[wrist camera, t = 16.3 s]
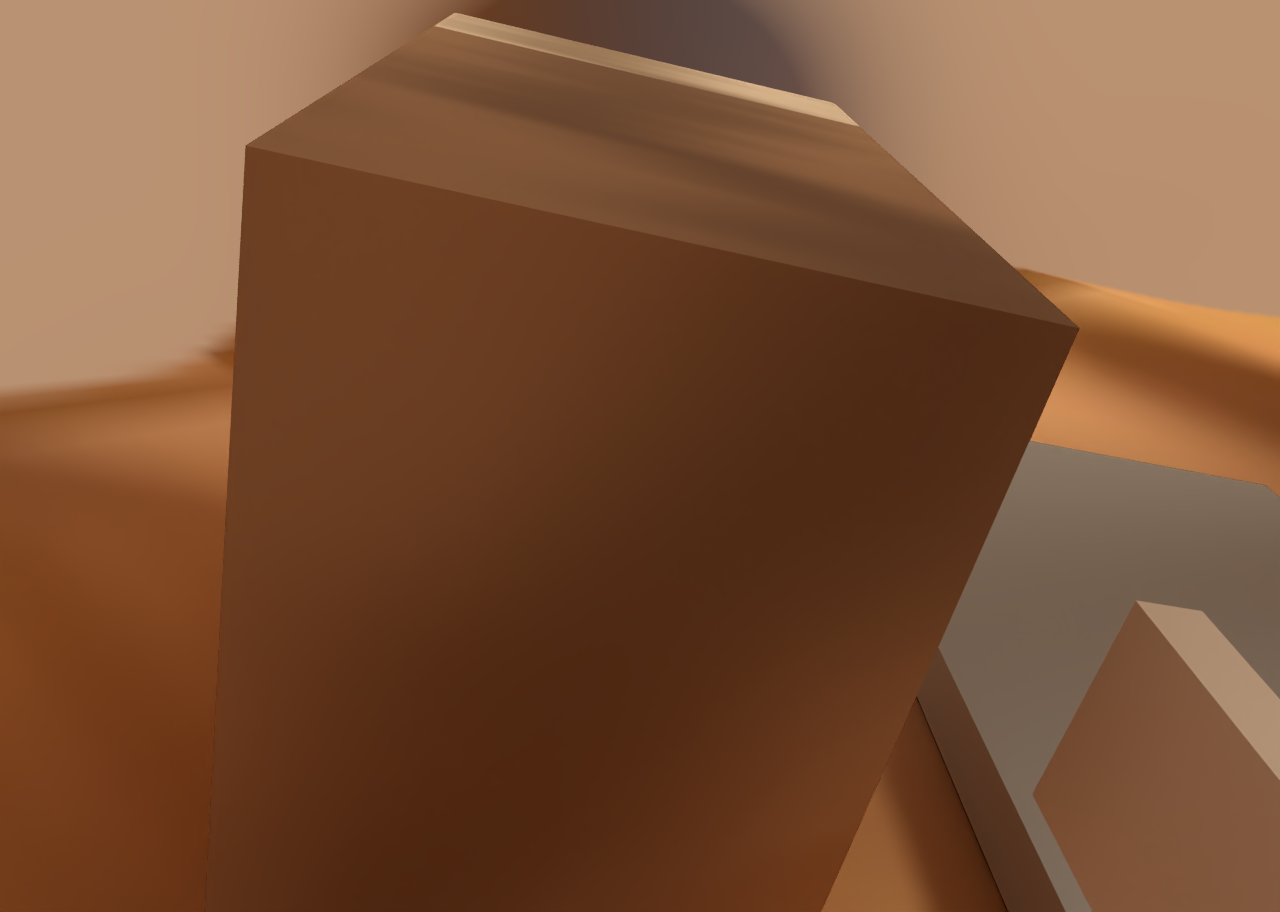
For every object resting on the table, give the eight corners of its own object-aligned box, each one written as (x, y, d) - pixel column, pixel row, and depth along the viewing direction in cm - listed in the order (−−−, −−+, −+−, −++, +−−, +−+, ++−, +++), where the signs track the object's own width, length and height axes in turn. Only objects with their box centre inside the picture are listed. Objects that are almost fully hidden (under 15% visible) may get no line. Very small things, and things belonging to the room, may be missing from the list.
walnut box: (727, 1123, 12) (682, 611, 21) (1079, 327, 8) (834, 102, 17) (196, 1060, 12) (381, 558, 20) (245, 145, 7) (455, 12, 16)
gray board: (1246, 518, 32) (1265, 485, 31) (1908, 1134, 16) (1970, 1087, 16) (807, 439, 30) (819, 401, 29) (1069, 1055, 14) (1107, 997, 13)
